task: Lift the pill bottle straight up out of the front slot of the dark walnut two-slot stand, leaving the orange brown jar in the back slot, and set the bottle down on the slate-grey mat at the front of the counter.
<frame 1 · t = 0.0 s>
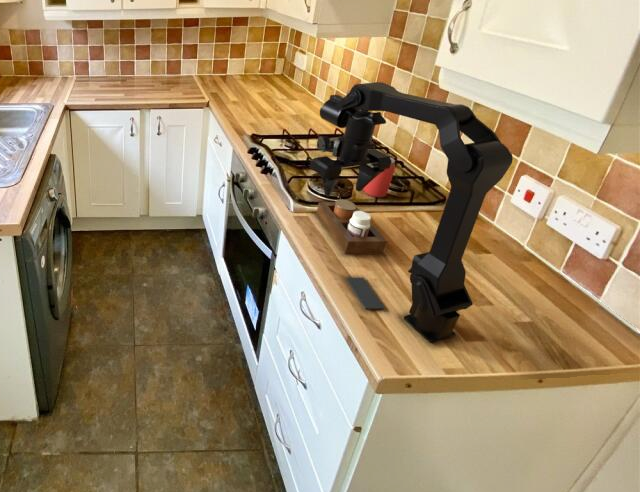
hand: (342, 193, 101), 15 cm above the worktop, tool pointing down, fingers open, 9 cm apart
orange brown jar: (340, 223, 114), resting in pod stand
pill bottle: (354, 242, 107), resting in pod stand
beer can: (374, 193, 129), on the worktop
pod stand: (347, 232, 111), on the worktop
slate mat: (364, 293, 91), on the worktop
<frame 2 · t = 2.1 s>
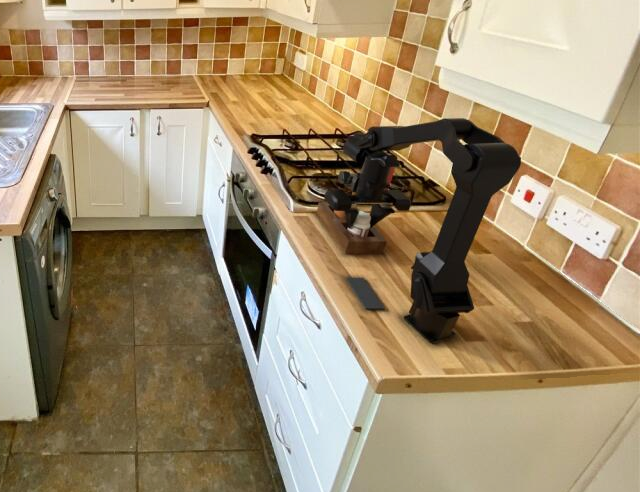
hand: (358, 227, 105), 5 cm above the worktop, tool pointing down, fingers closed on pill bottle, 5 cm apart
pill bottle: (354, 242, 107), resting in pod stand, touching gripper
everything else where it was.
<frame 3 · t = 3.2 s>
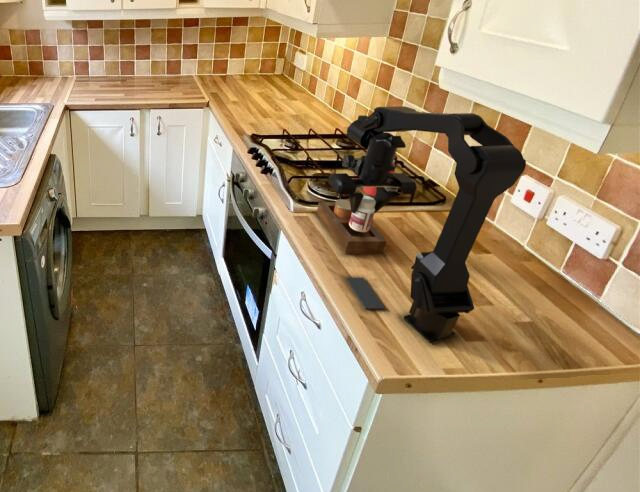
hand: (363, 212, 103), 9 cm above the worktop, tool pointing down, fingers closed on pill bottle, 5 cm apart
pill bottle: (358, 227, 105), point 5 cm above the worktop, touching gripper
everything else where it was.
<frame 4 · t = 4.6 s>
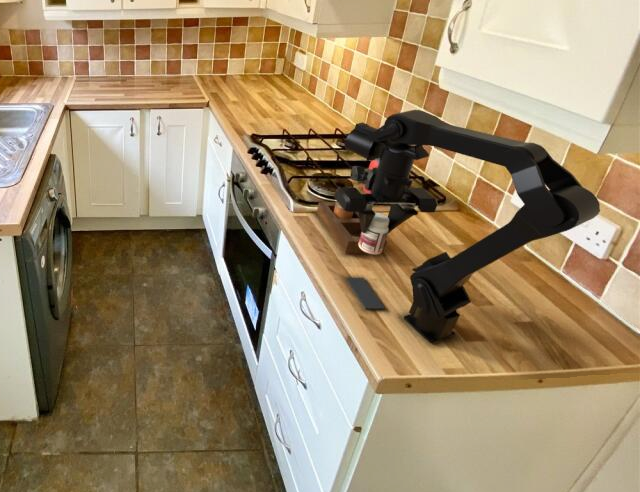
hand: (374, 232, 91), 13 cm above the worktop, tool pointing down, fingers closed on pill bottle, 5 cm apart
pill bottle: (369, 248, 93), point 8 cm above the worktop, touching gripper
everything else where it was.
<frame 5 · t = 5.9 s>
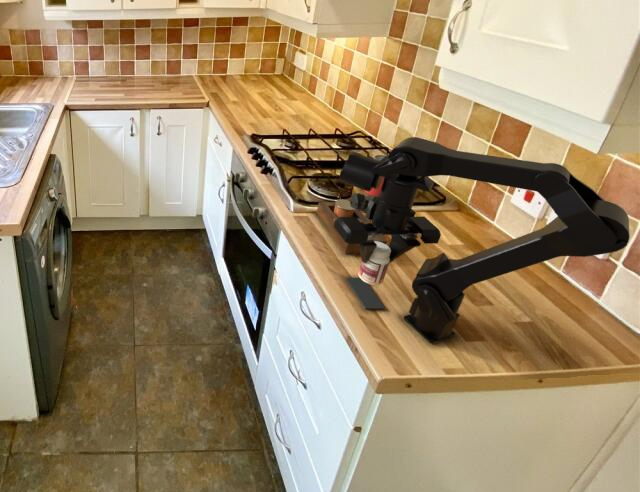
hand: (375, 261, 87), 9 cm above the worktop, tool pointing down, fingers closed on pill bottle, 5 cm apart
pill bottle: (369, 278, 89), point 4 cm above the worktop, touching gripper
everything else where it was.
when the fingers open (5 cm above the worktop, at t = 7.3 s): pill bottle stays where it is, resting on slate mat.
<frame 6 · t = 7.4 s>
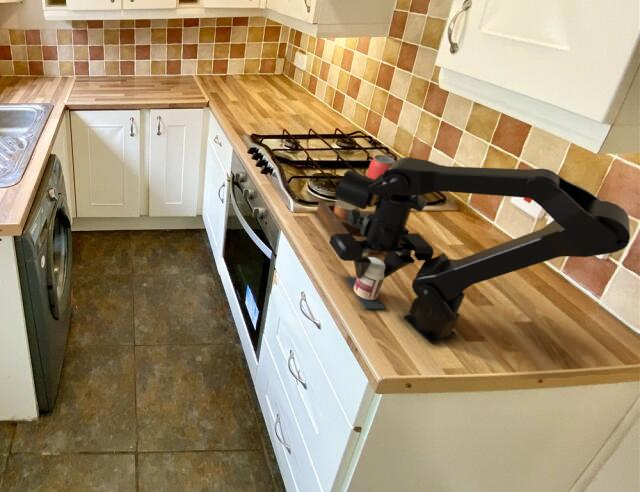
hand: (370, 277, 89), 5 cm above the worktop, tool pointing down, fingers open, 5 cm apart
pill bottle: (364, 293, 91), resting on slate mat
everything else where it was.
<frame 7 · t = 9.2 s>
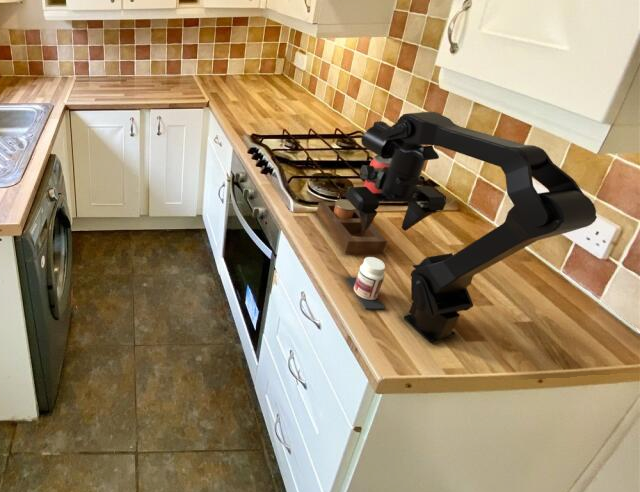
hand: (383, 229, 92), 12 cm above the worktop, tool pointing down, fingers open, 9 cm apart
nothing on the worktop moved.
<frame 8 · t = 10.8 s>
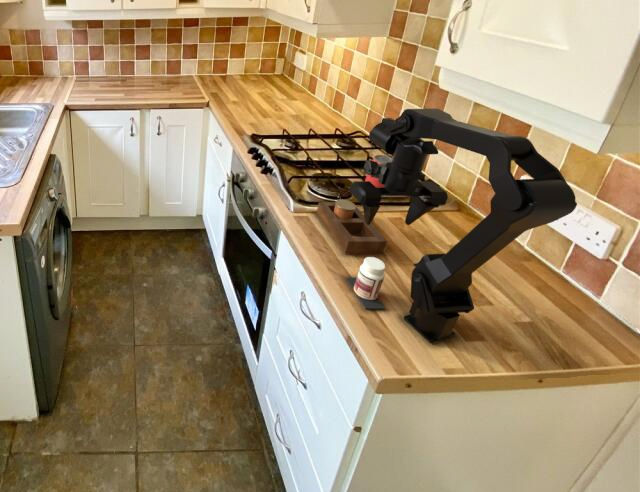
hand: (387, 224, 95), 12 cm above the worktop, tool pointing down, fingers open, 9 cm apart
nothing on the worktop moved.
at the end: pill bottle 0.1 cm off-centre on the slate mat, point 0.2 cm above the slate mat's base; pill bottle tilted 0°; orange brown jar 0.0 cm from the target spot in the pod stand, point 0.0 cm above the pod stand's base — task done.
